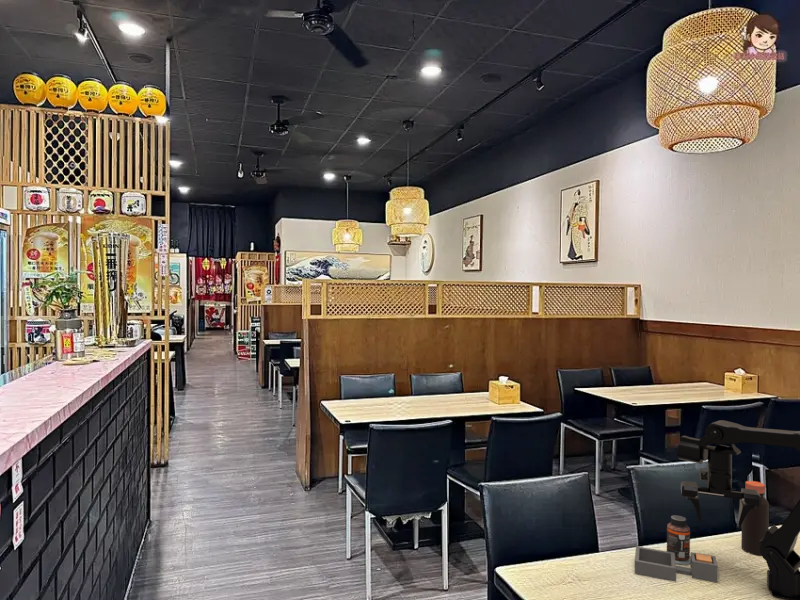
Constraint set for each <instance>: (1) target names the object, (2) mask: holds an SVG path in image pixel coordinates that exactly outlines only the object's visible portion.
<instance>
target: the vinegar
mask: <svg viewBox="0 0 800 600" xmlns="http://www.w3.org/2000/svg"><path fill="white" fill-rule="evenodd" d="M744 486H745V488H744V489H752V490H756V491H757V492H758V493H759V495H760V496H761V506H760V507H758V506H755V509H751V510H750V511H749V513H748V514H747V515H746V517H745V519H744V521H743V523H742V525H741V541H740V543H741V549H742V550H743V551H744V552H746V553H748V554H751V555H755V556H762V555H761V553H760V551H759V549H760V546H761V543H759V541H760V540H761V539H763V538H764V537H765V534H766V532H767V530H768V529H769V528H770V527H769V525H770V524H769V523H770V521H769V520H770V518H769V517H770V515H769V514H770V513H769V512H770V504H769V501H768V500H767V499H766V497H765V494H766V485H765V484H764V483H762V482H760V481H755V480H746V481H745V485H744Z"/></svg>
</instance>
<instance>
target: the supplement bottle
mask: <svg viewBox="0 0 800 600" xmlns="http://www.w3.org/2000/svg"><path fill="white" fill-rule="evenodd" d="M666 525H667V527H666V551H667V552H673V553H675V560H679V561H686V560H688V559H689V558H690V556H691V529H690V527H689V526H688V525H687V518H686V517H684V516H681V515H674V514H673V515H671V516H670V522H669V523H667V524H666Z"/></svg>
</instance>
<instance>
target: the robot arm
mask: <svg viewBox="0 0 800 600" xmlns="http://www.w3.org/2000/svg"><path fill="white" fill-rule="evenodd" d="M704 431H705V432H704V435H703V436H702V437H700V438H695V437H690V436H687V435H682V436H680V441H679V442H678V445H677V448H676V455H677V456H676V457H677V458H678V460H682V461H686V462H691V463H695V464H703V462H706V461H707V468H699V480H700V481H705V482H706V483H705V484H706V486H707V487H705V486H698V484H697V481H688V480H683V481H681V482H680V491H681V496H682V497H686V500H688V501H691V503H692V505H693V507H694V510H695V512H696V514H697V518H698V522H700V523H701V522H702V514H701V513H702V512H701V506H700V499H699V498H700V497H699V495H704V496H712V497H720V498H721V497H722V498H727V499H728V498H729V499H735V500H739V506H738V507H739V508H738V515H737V516H738V517H737V528H738V529H740V528H742V523H743V521H744V519H745V517H746V515H747V514H748V513H749V511H750V510H751V509H755V506H758V507H760V506H761V496H760V495H759V493H758V492H757V491H756V490H752V489H745V488H744V487H743V488H742V487H741V491H735V490H733V489H732V484H733V481H732V480H733V479H732V477H733V470H732V469H733V466H732V465H733V458H732V457H733V456H737V455H739V454H741V453H742V451H741V450H740V448H738V447H736V444H744V443H745V444H755V445H765V446H776V447H784V448H794V449H796V450H797V452H799V453H800V430H787V429H776V428H775V429H773V428H765V427H763V428H760V427H752V426H751V427H750V426H744V425H742V424H739V423H736V422H733V421H728V420H723V419H722V420H720V419H719V420H717V421H713V422H712V423H710V424H708V425H707V426H706V428H705V430H704ZM712 444H713V445H716V446H713V445H712ZM728 445H729V446H728ZM799 534H800V499H799V500H798V501H797V502H796V504H795V506H794V508H793V509H792V510H791V511H790V513H789V514H788V516H787V517H786V519H785V520H784V521H783V522H782V524H781V525H780V527H778V526H777V525H775V524H772V525H771V526H770V527H769V529H768V530H767V532H766V534H765V537H764V538H763V539H761V540H760V541H759V543H761V546H760V549H759V551H760V553H761V555H760V556H761V557H762V559H763V560H764V561H765V562H766V564H767V567H768V569H767V570H766V586H767V589H768V591H769V592H770V594H771V596H772V597H774V598H779V599H784V600H800V555H799V554H798V553H797V551H795V550H794V549H795V547H796V544H797V541H798V537H799Z"/></svg>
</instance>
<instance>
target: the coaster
mask: <svg viewBox="0 0 800 600" xmlns="http://www.w3.org/2000/svg"><path fill="white" fill-rule="evenodd" d="M675 564H676V565H678V566H689V565H690V566H691V555H690V558H689V559H688V560H686V561H679V560H675Z"/></svg>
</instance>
